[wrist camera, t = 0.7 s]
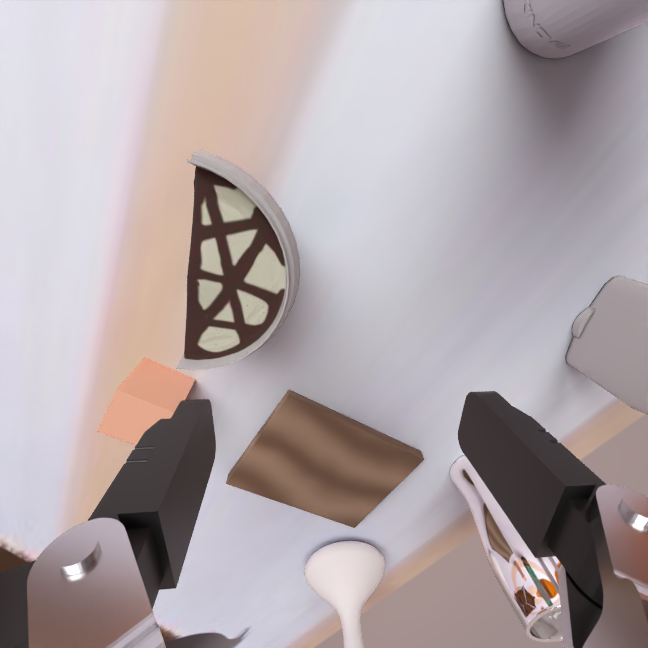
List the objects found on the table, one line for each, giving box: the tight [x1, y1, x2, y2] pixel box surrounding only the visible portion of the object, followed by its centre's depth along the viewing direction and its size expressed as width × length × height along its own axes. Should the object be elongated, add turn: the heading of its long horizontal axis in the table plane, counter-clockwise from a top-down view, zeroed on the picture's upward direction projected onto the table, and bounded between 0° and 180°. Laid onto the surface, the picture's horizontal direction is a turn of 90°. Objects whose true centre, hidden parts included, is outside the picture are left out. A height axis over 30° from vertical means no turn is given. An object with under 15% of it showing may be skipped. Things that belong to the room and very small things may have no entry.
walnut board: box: [226, 390, 424, 528], centre depth 36 cm, size 14×18×1 cm
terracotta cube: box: [97, 357, 196, 445], centre depth 28 cm, size 5×5×5 cm
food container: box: [176, 150, 300, 370], centre depth 21 cm, size 12×6×10 cm, turn 167°
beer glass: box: [450, 455, 563, 642], centre depth 32 cm, size 7×7×15 cm
